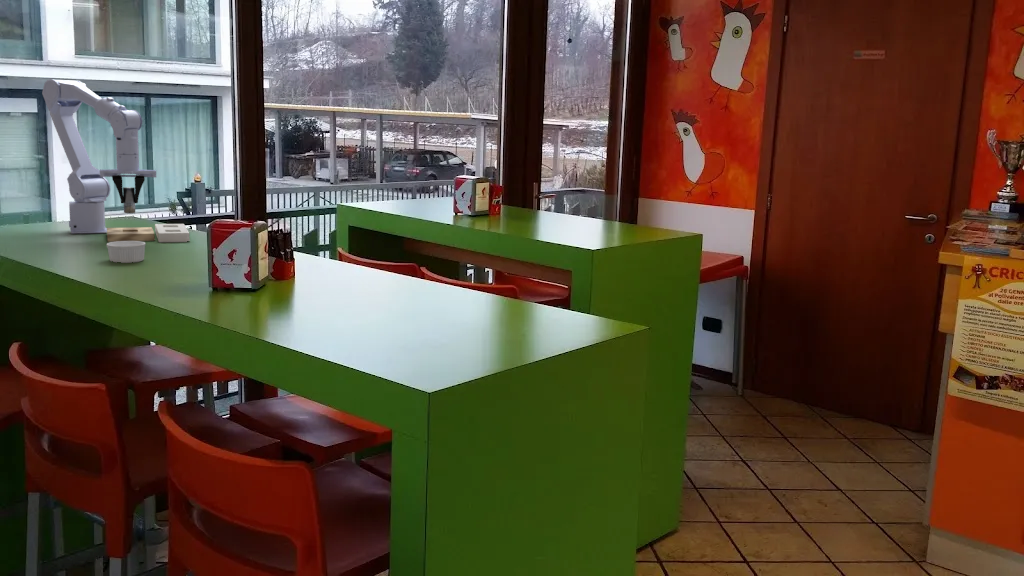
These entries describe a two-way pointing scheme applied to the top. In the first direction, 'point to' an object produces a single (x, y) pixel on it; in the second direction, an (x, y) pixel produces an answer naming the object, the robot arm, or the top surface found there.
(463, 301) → the top surface
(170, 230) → the tool rack
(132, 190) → the steel peg
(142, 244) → the ramekin
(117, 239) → the socket block
